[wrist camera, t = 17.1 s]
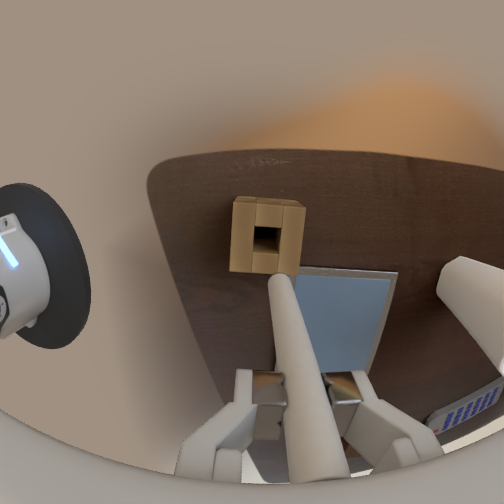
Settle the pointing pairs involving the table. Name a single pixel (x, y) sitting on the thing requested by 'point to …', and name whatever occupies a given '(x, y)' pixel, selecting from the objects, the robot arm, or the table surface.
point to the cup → (476, 303)
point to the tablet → (343, 313)
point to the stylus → (303, 394)
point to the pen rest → (266, 249)
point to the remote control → (465, 407)
